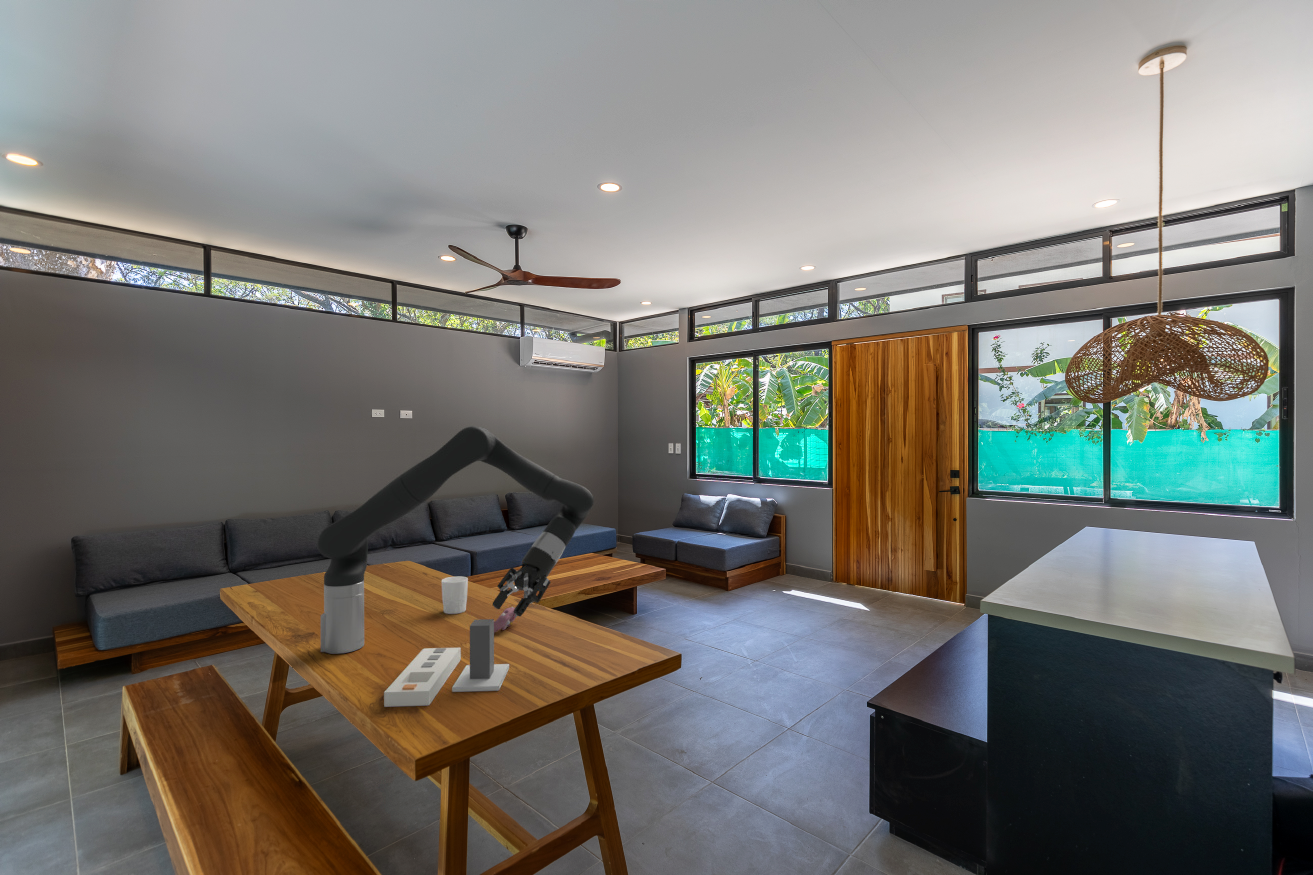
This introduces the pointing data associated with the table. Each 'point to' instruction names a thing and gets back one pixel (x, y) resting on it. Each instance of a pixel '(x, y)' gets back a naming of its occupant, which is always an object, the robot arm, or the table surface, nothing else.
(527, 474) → the robot arm
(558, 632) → the table surface
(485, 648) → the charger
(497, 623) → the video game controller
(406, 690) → the power strip
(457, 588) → the white cup
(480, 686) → the mat
